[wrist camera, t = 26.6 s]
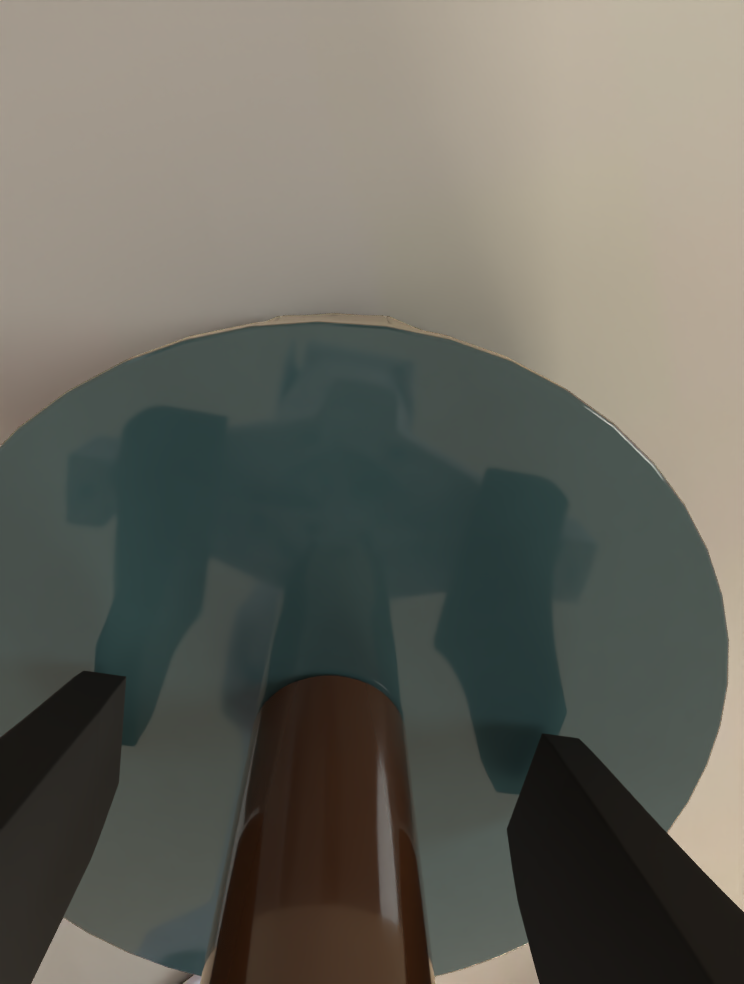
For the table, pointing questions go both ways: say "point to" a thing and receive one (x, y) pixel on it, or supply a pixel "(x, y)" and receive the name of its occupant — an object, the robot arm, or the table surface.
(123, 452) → the pot lid
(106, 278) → the table surface
